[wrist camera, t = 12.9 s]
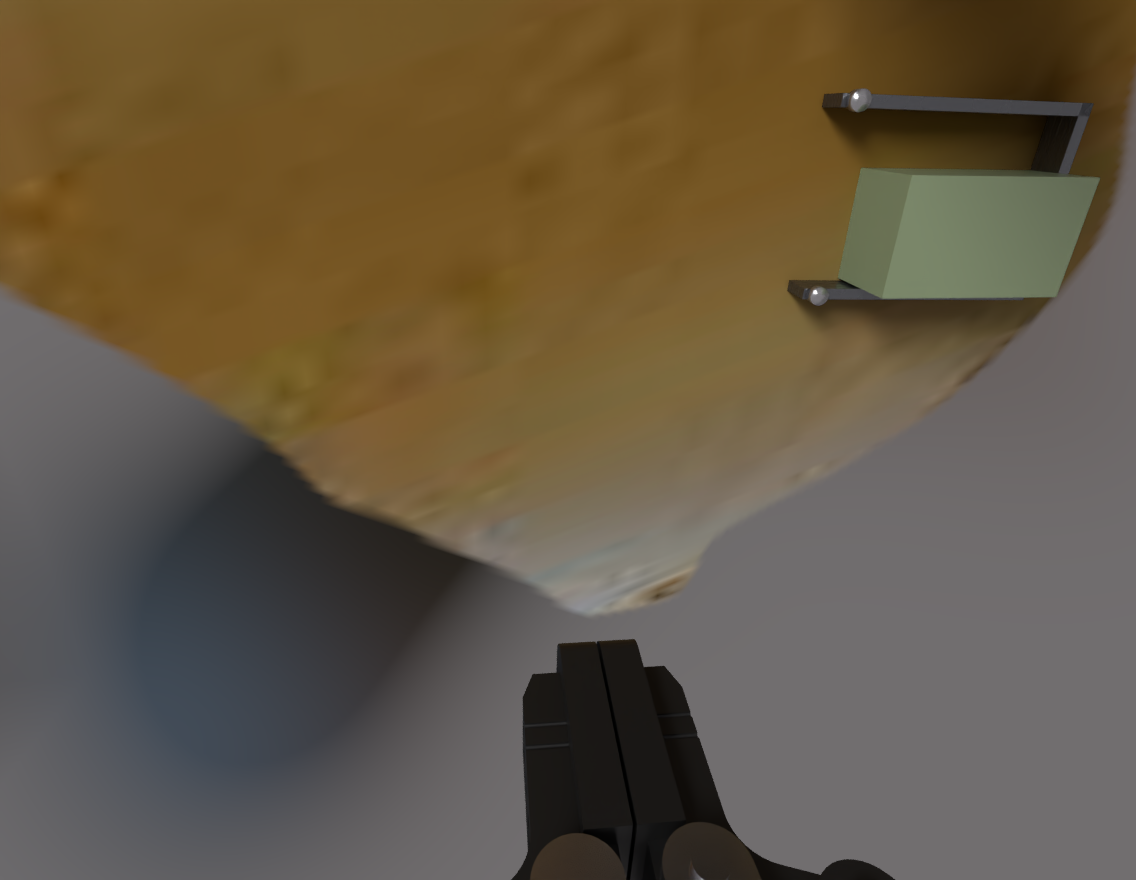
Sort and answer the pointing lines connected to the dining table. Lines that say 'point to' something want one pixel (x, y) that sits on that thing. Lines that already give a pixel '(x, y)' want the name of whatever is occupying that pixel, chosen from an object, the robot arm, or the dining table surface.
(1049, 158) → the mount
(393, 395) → the dining table surface
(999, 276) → the pale green block
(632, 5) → the dining table surface
